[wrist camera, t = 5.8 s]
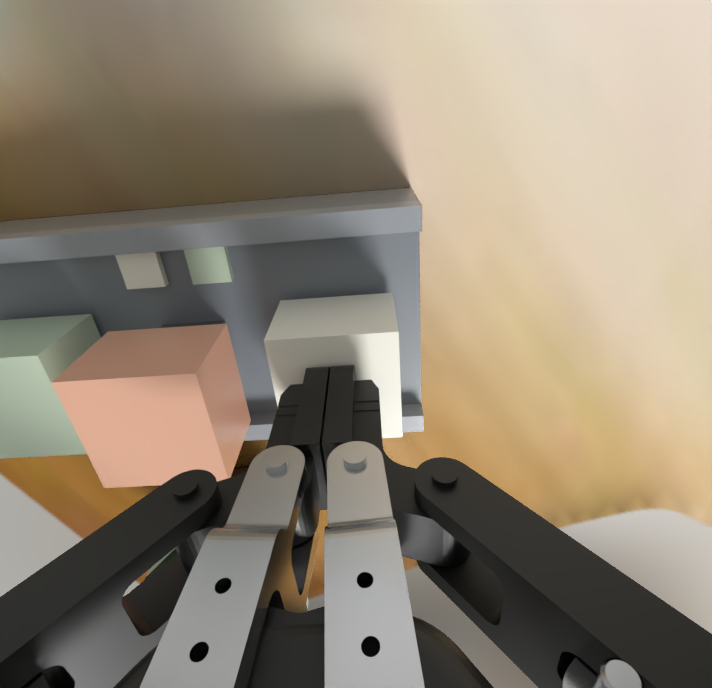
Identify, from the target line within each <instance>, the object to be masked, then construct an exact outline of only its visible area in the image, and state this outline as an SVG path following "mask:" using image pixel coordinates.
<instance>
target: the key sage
mask: <svg viewBox="0 0 712 688" xmlns="http://www.w3.org/2000/svg"><path fill="white" fill-rule="evenodd" d="M100 338H101V336H100V334H99V332H98V329H97V327H96V324H95V322H94V319H93V317H92V315H91V314H82V315H68V316H53V317H39V318H25V319H11V320H0V459H2V458H21V457H40V456H59V455H77V454H87V453H86V451H85V449H84V447H83V445H82V443H81V441H80V439H79V437H78V435H77V433H76V431H75V429H74V427H73V425H72V423H71V421H70V419H69V417H68V415H67V413H66V411H65V409H64V407H63V405H62V403H61V401H60V399H59V397H58V395H57V393H56V391H55V389H54V387H53V385H52V383H51V382H52V381H53V380H54V379H56V378H57V377H58V376H59V375H60V374H61V373H62V372H63V371H65V370H66V369H67V368H68V367H69V366H70V365H71V364H72V363H73V362H75V361H76V360H77V359H78V358H79V357H80V356H81V355H82V354H84V353H85V352H86V351H87V350H88V349H89V348H90V347H91V346H92V345H94V344H95V343H96V342H97V341H98V340H99V339H100Z"/></svg>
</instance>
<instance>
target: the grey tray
mask: <svg viewBox="0 0 712 688" xmlns="http://www.w3.org/2000/svg"><path fill="white" fill-rule="evenodd" d="M419 231H422V205H421V203H420V201H419V200H418V198H417V196H416V194H415V193H414V191H413V189H412V188H398V189H386V190H374V191H362V192H350V193H338V194H326V195H314V196H301V197H289V198H277V199H265V200H253V201H241V202H229V203H217V204H205V205H192V206H180V207H168V208H156V209H144V210H132V211H120V212H108V213H95V214H83V215H71V216H59V217H47V218H35V219H23V220H11V221H0V320H11V319H25V318H39V317H53V316H68V315H82V314H91V315H92V317H93V319H94V322H95V324H96V327H97V329H98V332H99V334H100V336H101V337H103V336H104V335H105V334H106V333H107V332H109V331H124V330H138V329H153V328H168V327H183V326H197V325H212V324H227V327H228V331H229V335H230V339H231V343H232V347H233V351H234V355H235V359H236V363H237V367H238V371H239V375H240V378H241V382H242V386H243V390H244V394H245V398H246V402H247V406H248V410H249V414H250V418H251V421H250V424H249V427H248V430H247V433H246V436H245V438H244V441H251V440H269V437H270V433H271V429H272V426H273V422H274V418H275V415H276V411H277V408H278V407H277V402H276V397H275V392H274V387H273V383H272V378H271V373H270V368H269V364H268V359H267V354H266V349H265V345H264V339H265V336H266V334H267V331H268V329H269V327H270V324H271V322H272V319H273V317H274V315H275V312H276V310H277V308H278V305H279V303H280V300H294V299H308V298H322V297H337V296H351V295H365V294H379V293H393V299H394V305H395V311H396V318H397V324H398V330H399V353H400V379H401V406H402V432H419V431H424V417H423V411H422V405H421V345H420V254H419Z"/></svg>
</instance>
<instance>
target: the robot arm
mask: <svg viewBox="0 0 712 688" xmlns="http://www.w3.org/2000/svg"><path fill="white" fill-rule="evenodd" d="M320 510H327V516H328V525H327V527H325V535H324V596H325V606H324V607H321V608H317V609H314V610H311V611H308V612H306V603H307V597H308V591H309V586H310V580H311V575H312V569H313V564H314V559H315V553H316V548H317V542H318V535H319V534H318V521H319V512H320ZM174 548H176V550H177V552H178V553H177V554H176V555H175V556H173V557H172V558H171V559H170V560H169V561H167V562H166V563H165V564H164V565H162V566H161V567H160V568H159V569H158V570H156V571H155V572H154V573H153V574H152V575H150V576H149V577H148V578H147V579H146V580H144V581H143V582H142V583H141V584H140V585H138V586H137V587H136V588H135V589H133V590H132V591H131V592H130V593H129V594H127V595H126V596H124V597H123V595H124V592H125V590H126V589H127V588H128V586H130V585H131V584H132V582H134V581H135V580H136V579H137V578H139V577H140V576H141V575H142V574H144V573H145V572H146V571H147V570H148V569H150V568H151V567H152V566H153V565H155V564H156V563H157V562H158V561H159V560H161V559H162V558H163V557H164V556H166V555H167V554H168V553H169V552H171V551H172V550H173V549H174ZM402 556H404V557H408V558H411V559H415V560H417V563H418V565H419V567H420V569H421V570H422V571H423V572H424V573H425V574H426V575H427V576H428V577H429V578H430V579H431V580H432V581H433V582H434V583H435V584H436V585H437V586H438V587H439V588H440V589H441V590H442V591H443V592H444V593H445V594H446V595H447V596H448V597H449V598H450V599H451V600H452V601H453V602H454V603H455V604H456V605H457V606H458V607H459V608H460V609H461V610H462V611H463V612H464V613H465V614H466V615H467V616H468V617H469V618H470V619H471V620H472V621H473V622H474V623H475V624H476V625H477V626H478V627H479V628H480V629H481V630H482V631H483V632H484V633H485V634H486V635H487V636H488V637H489V638H490V639H491V640H492V641H493V642H494V643H495V644H496V645H497V646H498V647H499V648H500V649H501V650H502V651H503V652H504V653H505V654H506V655H507V656H508V657H509V658H510V659H511V660H512V661H513V662H514V663H515V664H516V665H517V666H518V667H519V668H520V669H521V670H522V671H523V672H524V673H525V674H526V675H527V676H528V677H529V678H530V679H531V680H532V681H533V682H534V683H535V684H536V685H537V686H538V687H539V688H712V634H711V633H709V632H708V631H706V630H705V629H704V628H702V627H700V626H699V625H698V624H696V623H695V622H693V621H692V620H690V619H689V618H687V617H686V616H685V615H683V614H682V613H680V612H679V611H677V610H676V609H674V608H673V607H671V606H670V605H668V604H667V603H666V602H664V601H663V600H661V599H660V598H658V597H657V596H656V595H654V594H653V593H651V592H650V591H648V590H647V589H645V588H644V587H642V586H641V585H640V584H638V583H637V582H635V581H634V580H632V579H631V578H629V577H628V576H626V575H625V574H624V573H622V572H620V571H619V570H617V569H616V568H615V567H613V566H612V565H610V564H609V563H607V562H606V561H604V560H603V559H602V558H600V557H599V556H597V555H596V554H594V553H593V552H592V551H590V550H589V549H587V548H586V547H584V546H583V545H581V544H580V543H578V542H577V541H575V540H574V539H573V538H571V537H570V536H568V535H567V534H565V533H564V532H562V531H561V530H560V529H558V528H557V527H555V526H554V525H552V524H551V523H549V522H548V521H546V520H545V519H544V518H542V517H541V516H539V515H538V514H536V513H535V512H533V511H532V510H530V509H529V508H528V507H526V506H525V505H523V504H522V503H520V502H519V501H517V500H516V499H514V498H513V497H512V496H510V495H509V494H507V493H506V492H504V491H503V490H501V489H500V488H498V487H497V486H495V485H494V484H493V483H491V482H490V481H488V480H487V479H485V478H484V477H482V476H481V475H479V474H478V473H477V472H475V471H474V470H472V469H471V468H469V467H468V466H466V465H465V464H463V463H462V462H460V461H457V460H455V459H451V458H442V457H440V458H433V459H430V460H427V461H425V462H423V463H422V464H421V465H420V466H419V467H418V468H417V469H415V468H411V467H406V466H402V465H400V464H397V463H396V462H394V461H392V460H391V459H390V458H389V457H388V456H387V455H386V454H385V452H384V450H383V445H382V429H381V414H380V399H379V388H378V387H377V386H376V385H375V383H374V382H373V381H372V380H356V377H355V367H354V365H343V366H331V369H330V367H313V368H306V370H305V375H304V380H303V384H293V385H290V386H289V387H288V388H287V389H286V390H285V391H284V392H283V393H282V394H281V397H280V400H279V404H278V408H277V411H276V415H275V418H274V422H273V426H272V429H271V433H270V437H269V440H268V444H267V447H266V449H265V450H264V451H262V452H260V453H259V454H258V455H257V456H256V457H255V458H254V459H253V460H252V462H251V464H250V466H249V469H248V471H247V472H245V473H243V474H240V475H237V476H234V477H231V478H227V479H224V480H221V481H218V482H217V481H216V478H215V476H214V475H213V474H212V473H211V472H209V471H206V470H201V469H195V470H189V471H186V472H183V473H180V474H178V475H176V476H174V477H173V478H171V479H170V480H168V481H167V482H165V483H164V484H163V485H161V486H160V487H158V488H157V489H155V490H154V491H152V492H151V493H150V494H148V495H147V496H145V497H144V498H142V499H141V500H139V501H138V502H137V503H135V504H134V505H132V506H131V507H129V508H128V509H127V510H125V511H124V512H122V513H121V514H119V515H118V516H116V517H115V518H114V519H112V520H111V521H109V522H108V523H106V524H105V525H103V526H102V527H101V528H99V529H98V530H96V531H95V532H93V533H92V534H90V535H89V536H88V537H86V538H85V539H83V540H82V541H80V542H79V543H78V544H76V545H75V546H73V547H72V548H71V549H69V550H67V551H66V552H65V553H63V554H62V555H60V556H59V557H57V558H56V559H55V560H53V561H52V562H50V563H49V564H47V565H46V566H44V567H43V568H42V569H40V570H39V571H37V572H36V573H34V574H33V575H31V576H30V577H28V578H27V579H26V580H24V581H23V582H21V583H20V584H18V585H17V586H16V587H14V588H13V589H11V590H10V591H9V592H7V593H6V594H4V595H3V596H1V597H0V688H493V687H492V685H491V684H490V683H489V682H488V681H487V680H486V678H485V677H484V676H483V675H482V674H481V673H480V671H479V670H478V669H477V668H476V667H475V666H474V664H473V663H472V662H471V661H470V660H469V659H468V658H467V656H466V655H465V654H464V653H463V652H462V651H461V649H460V648H459V647H458V646H457V645H456V644H455V643H454V642H453V641H452V640H451V639H450V638H449V637H447V636H446V635H445V634H444V633H443V632H441V631H440V630H438V629H437V628H435V627H434V626H433V625H431V624H429V623H427V622H425V621H423V620H421V619H419V618H416V617H414V616H412V612H411V605H410V599H409V594H408V588H407V582H406V577H405V571H404V565H403V559H402Z"/></svg>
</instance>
